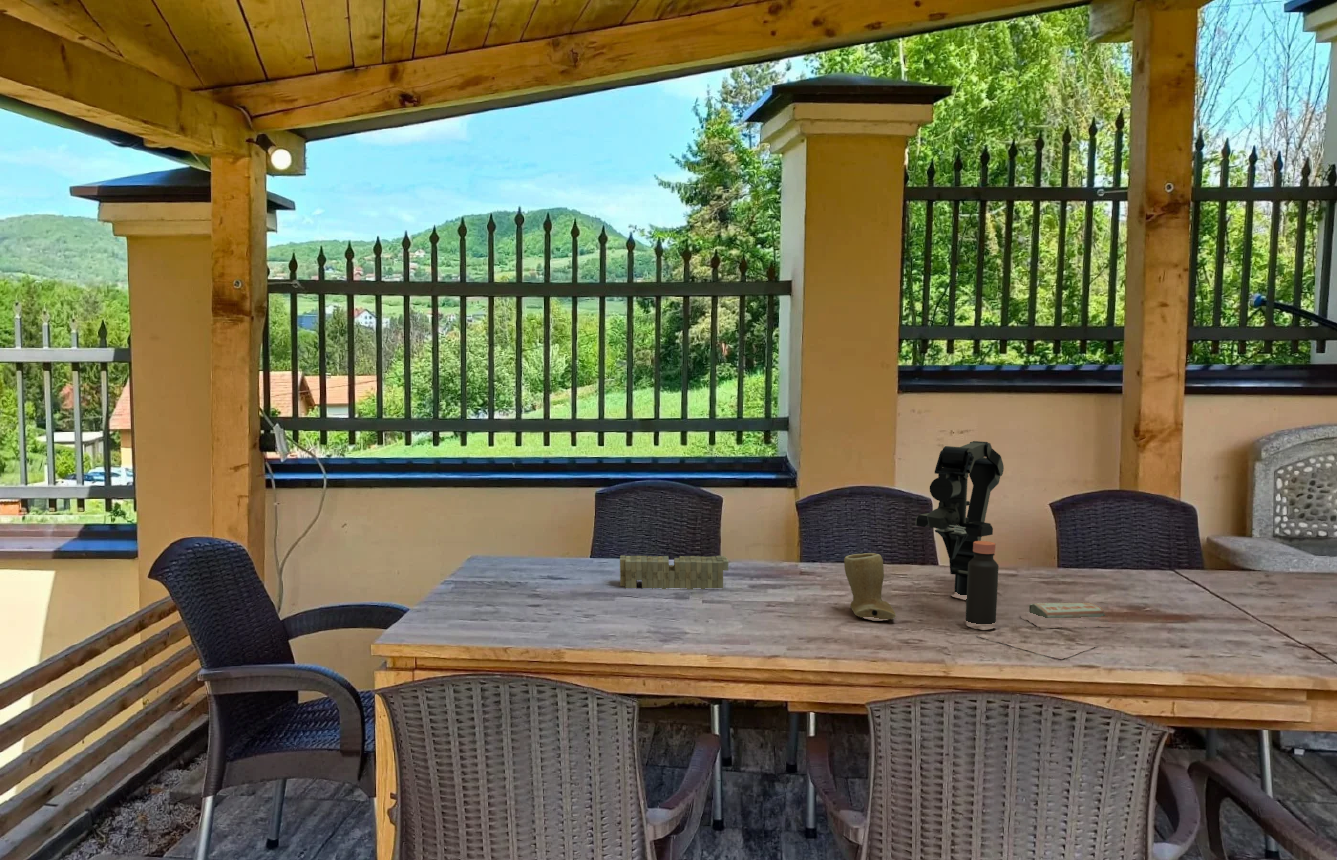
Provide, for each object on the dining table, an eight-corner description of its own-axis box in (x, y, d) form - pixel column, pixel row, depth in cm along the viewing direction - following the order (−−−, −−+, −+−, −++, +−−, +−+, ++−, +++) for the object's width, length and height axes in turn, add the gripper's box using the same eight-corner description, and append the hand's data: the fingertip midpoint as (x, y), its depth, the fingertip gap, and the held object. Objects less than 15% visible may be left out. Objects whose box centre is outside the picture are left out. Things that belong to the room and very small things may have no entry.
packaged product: (1087, 598, 226) (1112, 609, 216) (1085, 618, 226) (1111, 629, 216) (1019, 599, 223) (1042, 610, 213) (1018, 619, 223) (1041, 631, 213)
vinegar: (997, 632, 210) (1001, 546, 209) (966, 629, 211) (971, 544, 210) (993, 624, 217) (997, 541, 215) (963, 621, 218) (967, 539, 217)
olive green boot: (840, 605, 231) (842, 547, 229) (888, 608, 229) (891, 549, 228) (845, 622, 216) (847, 559, 214) (896, 625, 214) (899, 562, 213)
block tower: (619, 592, 243) (729, 590, 243) (619, 561, 242) (729, 559, 243) (620, 585, 250) (726, 583, 251) (620, 555, 250) (726, 553, 251)
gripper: (903, 494, 229) (901, 555, 230) (969, 504, 214) (966, 569, 215) (930, 491, 236) (927, 551, 237) (995, 500, 221) (992, 564, 222)
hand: (951, 558), depth 228 cm, fingers closed
